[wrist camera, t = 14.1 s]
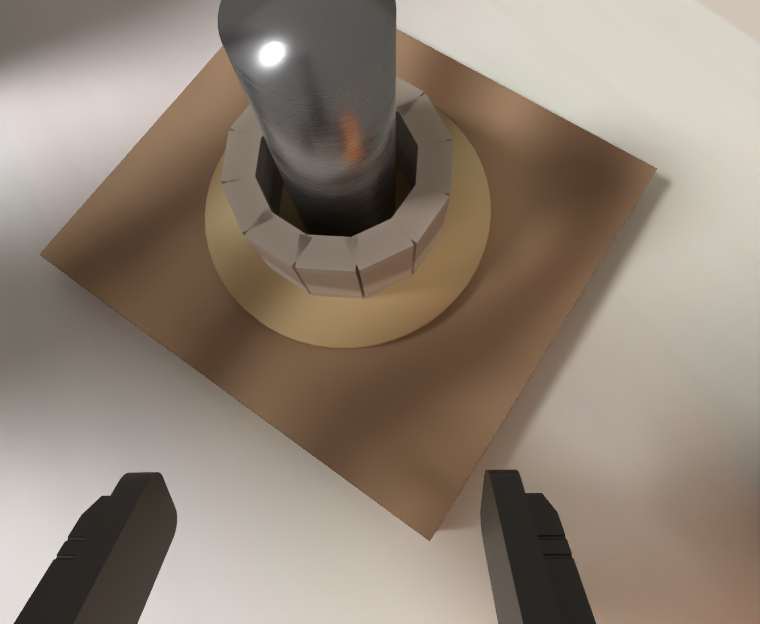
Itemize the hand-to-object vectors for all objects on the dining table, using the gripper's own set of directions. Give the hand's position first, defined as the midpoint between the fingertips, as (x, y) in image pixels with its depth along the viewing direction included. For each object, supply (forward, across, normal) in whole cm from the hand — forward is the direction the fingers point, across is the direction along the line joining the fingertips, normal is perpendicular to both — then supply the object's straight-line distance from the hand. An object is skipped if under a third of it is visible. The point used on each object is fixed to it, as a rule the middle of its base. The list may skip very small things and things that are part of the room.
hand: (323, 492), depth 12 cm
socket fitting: (+13, 0, -2) cm, 13 cm away
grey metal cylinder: (+12, 0, -4) cm, 12 cm away
